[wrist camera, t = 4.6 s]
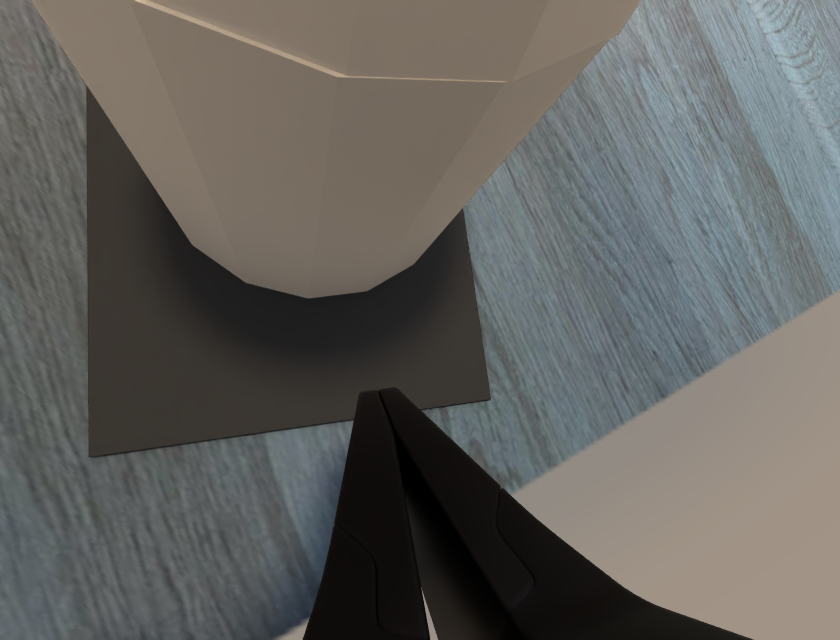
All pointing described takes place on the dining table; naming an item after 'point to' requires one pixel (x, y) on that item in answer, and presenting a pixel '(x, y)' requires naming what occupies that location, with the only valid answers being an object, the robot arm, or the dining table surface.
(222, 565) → the dining table surface
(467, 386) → the plate
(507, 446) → the dining table surface
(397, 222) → the container
